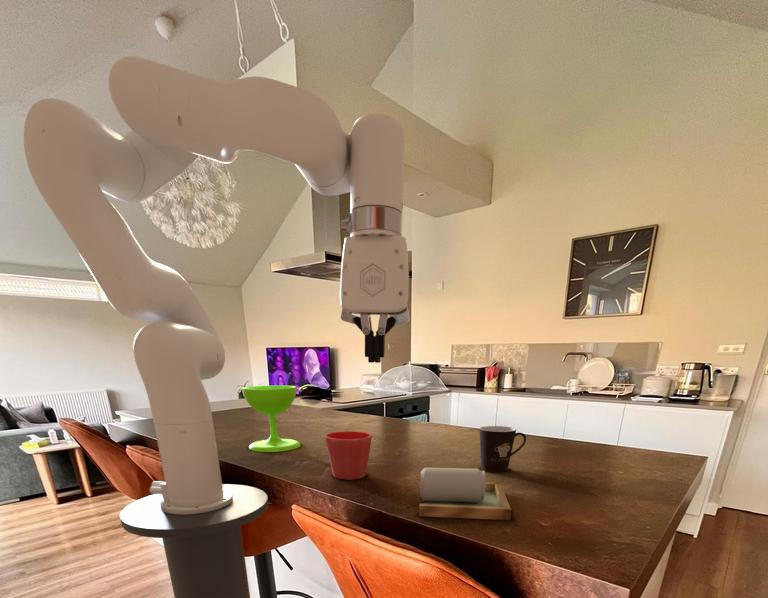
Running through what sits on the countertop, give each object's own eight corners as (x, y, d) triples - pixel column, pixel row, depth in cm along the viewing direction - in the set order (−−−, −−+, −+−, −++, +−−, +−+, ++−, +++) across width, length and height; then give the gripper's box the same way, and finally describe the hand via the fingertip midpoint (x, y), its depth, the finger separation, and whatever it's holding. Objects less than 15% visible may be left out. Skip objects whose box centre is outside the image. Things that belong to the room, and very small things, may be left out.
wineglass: (302, 450, 128) (298, 388, 121) (247, 453, 124) (240, 389, 117) (298, 440, 142) (294, 385, 136) (249, 443, 138) (242, 386, 132)
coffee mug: (476, 472, 101) (480, 431, 98) (476, 464, 109) (478, 425, 106) (527, 474, 100) (532, 432, 96) (522, 466, 107) (527, 426, 104)
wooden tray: (419, 516, 74) (419, 505, 74) (424, 489, 89) (424, 480, 89) (510, 520, 72) (511, 509, 71) (499, 491, 87) (500, 482, 87)
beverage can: (419, 493, 77) (486, 495, 75) (421, 461, 79) (486, 463, 77) (419, 505, 83) (482, 507, 81) (421, 475, 85) (482, 477, 83)
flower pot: (381, 473, 102) (381, 433, 98) (353, 484, 93) (352, 440, 90) (346, 467, 107) (345, 429, 104) (317, 477, 98) (315, 436, 95)
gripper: (319, 222, 59) (323, 361, 65) (426, 220, 57) (419, 364, 63) (332, 236, 66) (334, 361, 72) (428, 235, 64) (421, 363, 70)
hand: (374, 362), depth 68 cm, fingers closed
